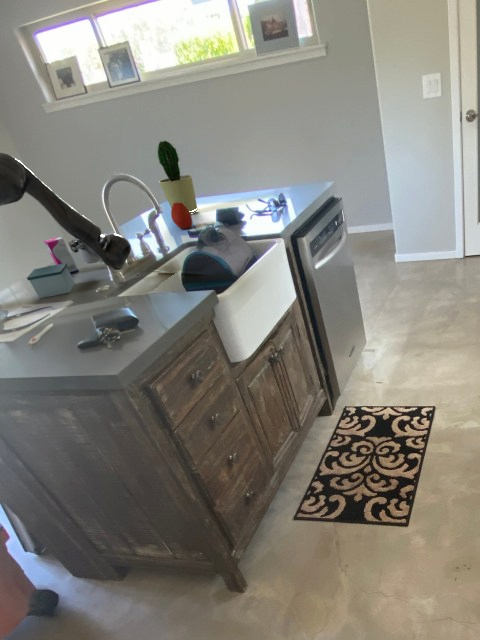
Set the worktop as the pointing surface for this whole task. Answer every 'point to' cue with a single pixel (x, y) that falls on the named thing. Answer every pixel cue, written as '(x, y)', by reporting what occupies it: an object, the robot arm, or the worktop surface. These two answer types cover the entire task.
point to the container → (51, 280)
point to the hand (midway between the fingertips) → (83, 240)
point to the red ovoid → (181, 216)
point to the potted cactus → (175, 178)
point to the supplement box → (61, 253)
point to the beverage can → (88, 256)
